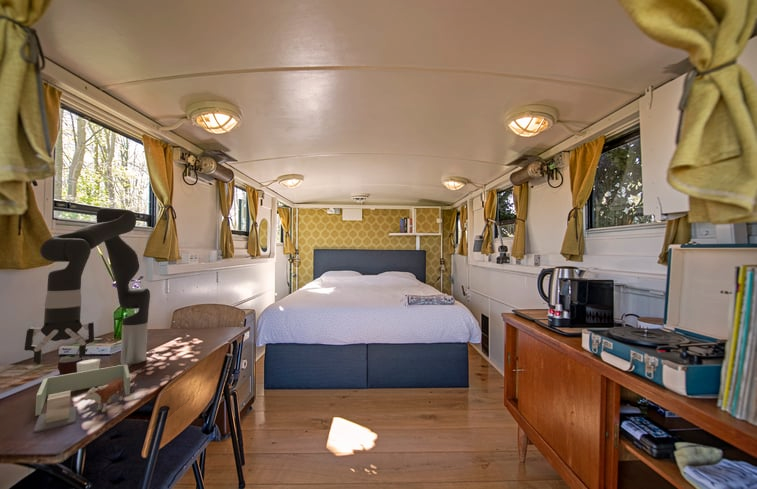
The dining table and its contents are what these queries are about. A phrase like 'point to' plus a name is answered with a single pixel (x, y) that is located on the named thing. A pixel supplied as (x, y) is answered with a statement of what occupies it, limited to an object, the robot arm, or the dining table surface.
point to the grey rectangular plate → (42, 424)
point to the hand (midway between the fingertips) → (60, 360)
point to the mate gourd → (69, 363)
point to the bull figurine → (105, 393)
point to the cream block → (58, 406)
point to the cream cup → (88, 365)
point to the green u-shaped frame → (81, 382)
